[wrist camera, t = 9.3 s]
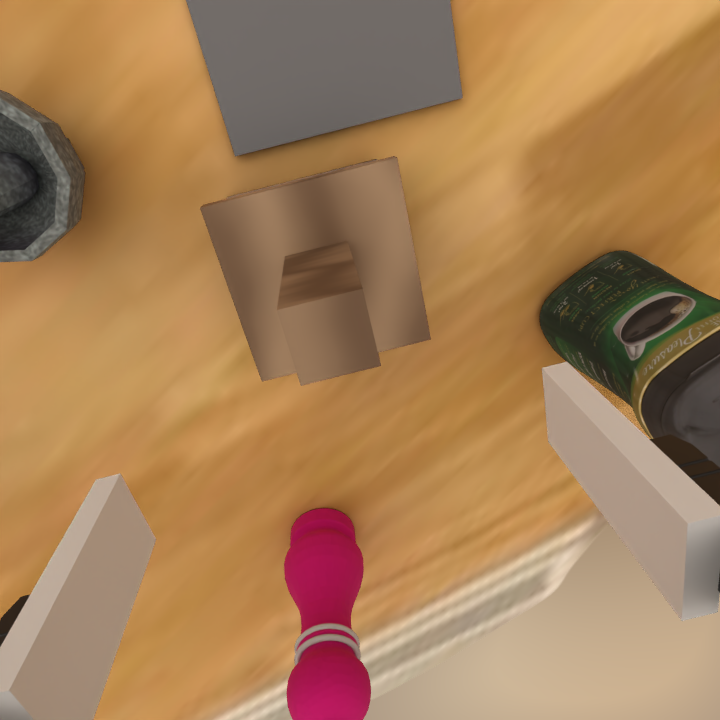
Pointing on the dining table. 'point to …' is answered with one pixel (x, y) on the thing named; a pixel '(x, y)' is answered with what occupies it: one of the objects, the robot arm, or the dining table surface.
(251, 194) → the lid
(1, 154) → the mortar and pestle
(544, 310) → the coffee jar
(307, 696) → the pepper mill
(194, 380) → the dining table surface
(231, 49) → the mat
